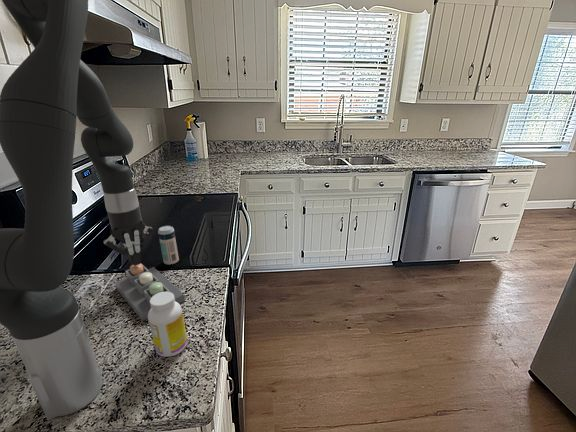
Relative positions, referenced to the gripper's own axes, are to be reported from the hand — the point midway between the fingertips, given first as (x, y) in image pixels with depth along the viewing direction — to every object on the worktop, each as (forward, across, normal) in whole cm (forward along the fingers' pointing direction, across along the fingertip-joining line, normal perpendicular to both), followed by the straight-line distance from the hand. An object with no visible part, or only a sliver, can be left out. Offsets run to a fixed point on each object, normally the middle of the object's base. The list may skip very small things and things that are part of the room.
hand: (136, 263), depth 87 cm
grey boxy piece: (+7, 0, -6) cm, 9 cm away
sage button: (+4, 0, -13) cm, 13 cm away
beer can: (+7, +12, +6) cm, 15 cm away
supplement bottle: (+7, -4, -28) cm, 30 cm away
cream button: (+4, 0, -6) cm, 7 cm away
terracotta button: (+4, 0, 0) cm, 4 cm away
